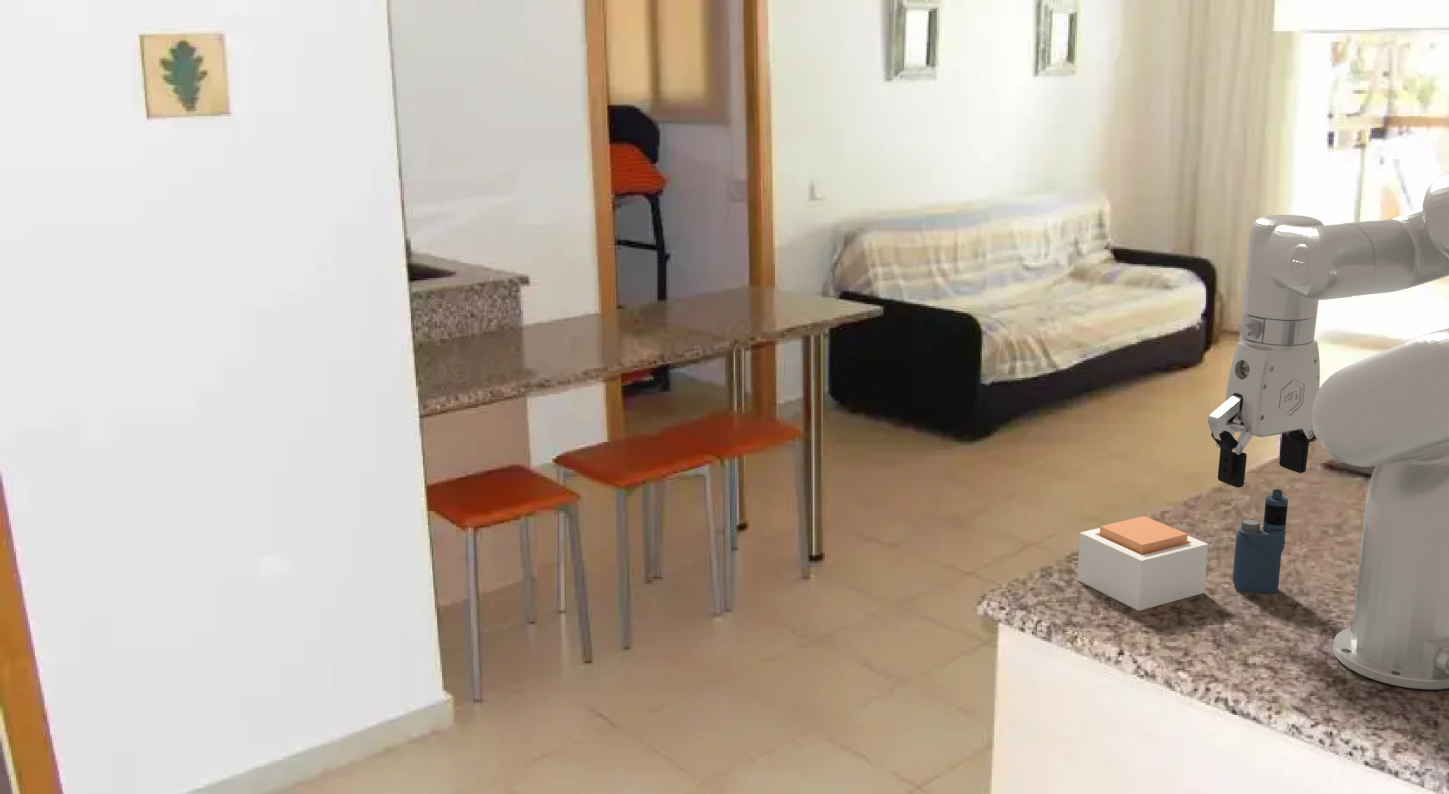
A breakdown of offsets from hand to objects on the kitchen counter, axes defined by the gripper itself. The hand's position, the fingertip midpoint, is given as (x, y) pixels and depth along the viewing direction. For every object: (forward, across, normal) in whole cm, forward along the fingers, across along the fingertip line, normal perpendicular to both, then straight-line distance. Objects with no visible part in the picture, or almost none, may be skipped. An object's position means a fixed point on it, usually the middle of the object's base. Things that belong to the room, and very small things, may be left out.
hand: (1261, 476), depth 143 cm
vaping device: (+14, 0, -1) cm, 14 cm away
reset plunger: (+10, -11, +6) cm, 16 cm away
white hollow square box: (+14, -11, +6) cm, 19 cm away
